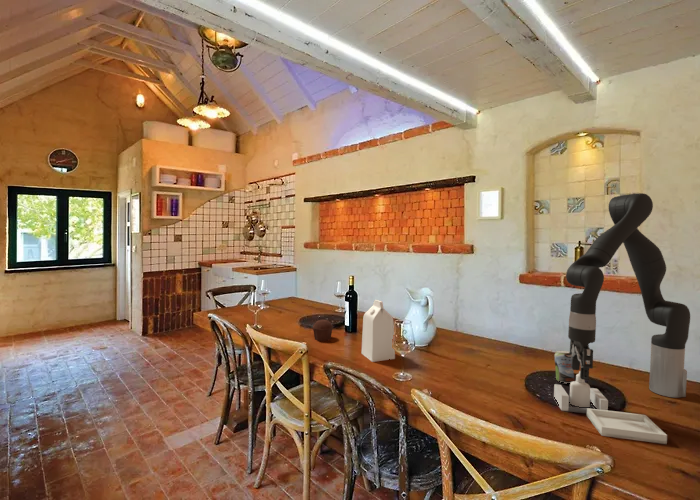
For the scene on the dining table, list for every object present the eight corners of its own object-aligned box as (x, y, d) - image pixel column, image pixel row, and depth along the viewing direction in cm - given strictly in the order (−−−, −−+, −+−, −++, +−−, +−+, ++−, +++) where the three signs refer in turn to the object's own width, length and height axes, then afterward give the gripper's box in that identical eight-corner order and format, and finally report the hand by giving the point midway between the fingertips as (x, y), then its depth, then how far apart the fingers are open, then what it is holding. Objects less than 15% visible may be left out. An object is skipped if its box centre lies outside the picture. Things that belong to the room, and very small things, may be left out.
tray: (644, 422, 111) (645, 414, 111) (666, 444, 100) (667, 435, 99) (586, 415, 115) (587, 408, 115) (601, 435, 104) (601, 426, 104)
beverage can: (565, 386, 136) (566, 355, 136) (549, 379, 144) (550, 349, 143) (578, 385, 138) (579, 353, 138) (562, 377, 145) (563, 347, 145)
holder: (596, 403, 123) (597, 388, 123) (607, 415, 115) (608, 400, 115) (553, 398, 127) (554, 384, 127) (561, 410, 118) (561, 395, 118)
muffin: (310, 336, 201) (310, 318, 200) (330, 334, 204) (330, 317, 204) (315, 342, 189) (315, 323, 189) (335, 340, 193) (335, 322, 192)
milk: (395, 358, 166) (395, 302, 165) (372, 361, 162) (372, 304, 160) (383, 350, 177) (383, 297, 176) (361, 353, 173) (361, 299, 172)
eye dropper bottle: (572, 401, 124) (573, 367, 124) (591, 407, 120) (592, 372, 120) (567, 405, 122) (568, 370, 121) (586, 412, 117) (588, 375, 117)
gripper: (603, 332, 112) (601, 384, 113) (587, 321, 125) (585, 368, 126) (576, 330, 114) (573, 381, 115) (562, 320, 127) (560, 365, 128)
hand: (579, 374), depth 120 cm, fingers open, 8 cm apart
